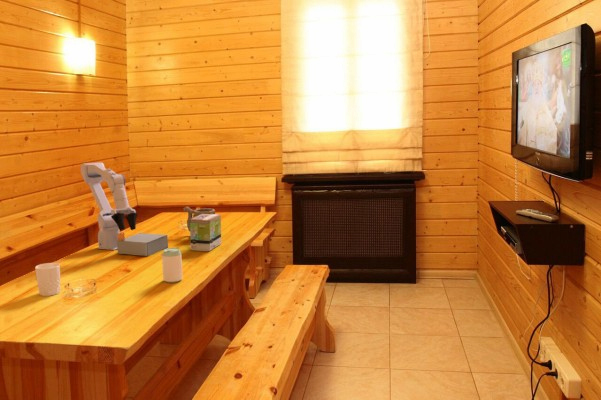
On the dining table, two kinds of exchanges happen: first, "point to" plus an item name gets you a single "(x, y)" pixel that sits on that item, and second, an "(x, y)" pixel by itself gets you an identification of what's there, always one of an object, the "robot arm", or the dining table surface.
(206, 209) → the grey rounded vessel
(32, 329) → the dining table surface
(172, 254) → the can
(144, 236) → the carton
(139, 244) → the grey drawer
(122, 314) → the dining table surface
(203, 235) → the tea box
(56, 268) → the white cup
